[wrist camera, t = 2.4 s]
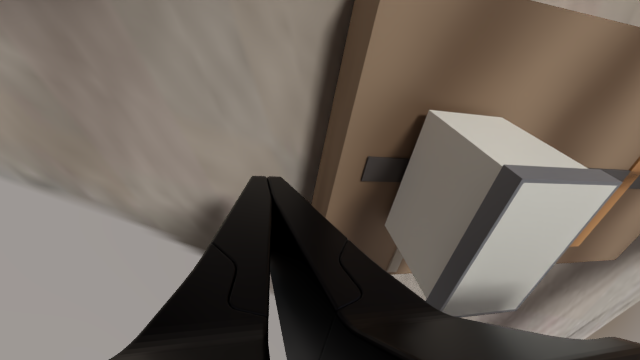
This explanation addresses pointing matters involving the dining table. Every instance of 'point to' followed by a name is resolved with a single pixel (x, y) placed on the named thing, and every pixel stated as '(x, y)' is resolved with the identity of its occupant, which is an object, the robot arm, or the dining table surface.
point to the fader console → (480, 105)
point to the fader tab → (488, 211)
